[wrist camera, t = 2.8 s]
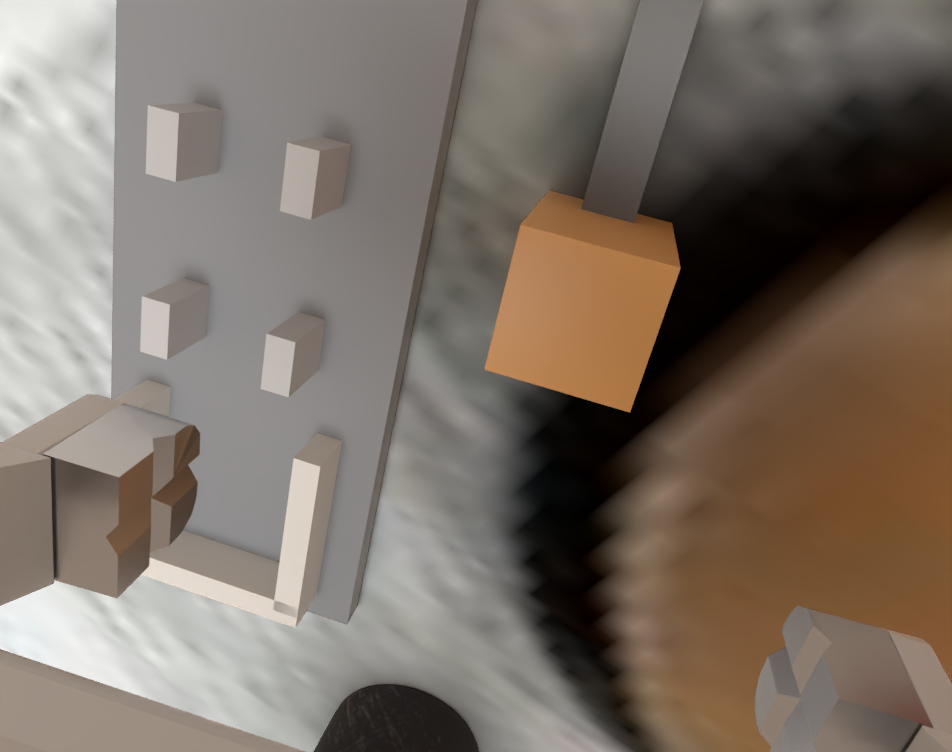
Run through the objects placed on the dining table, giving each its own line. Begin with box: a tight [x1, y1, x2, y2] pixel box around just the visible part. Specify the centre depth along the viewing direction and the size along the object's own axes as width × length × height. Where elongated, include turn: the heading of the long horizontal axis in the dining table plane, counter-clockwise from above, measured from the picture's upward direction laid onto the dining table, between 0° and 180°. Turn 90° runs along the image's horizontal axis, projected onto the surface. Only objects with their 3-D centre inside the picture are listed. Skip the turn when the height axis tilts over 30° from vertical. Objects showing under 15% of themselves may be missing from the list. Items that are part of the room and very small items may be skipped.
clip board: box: [111, 0, 477, 628], centre depth 25 cm, size 11×28×4 cm, turn 167°
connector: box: [484, 0, 704, 412], centre depth 19 cm, size 17×4×6 cm, turn 167°
